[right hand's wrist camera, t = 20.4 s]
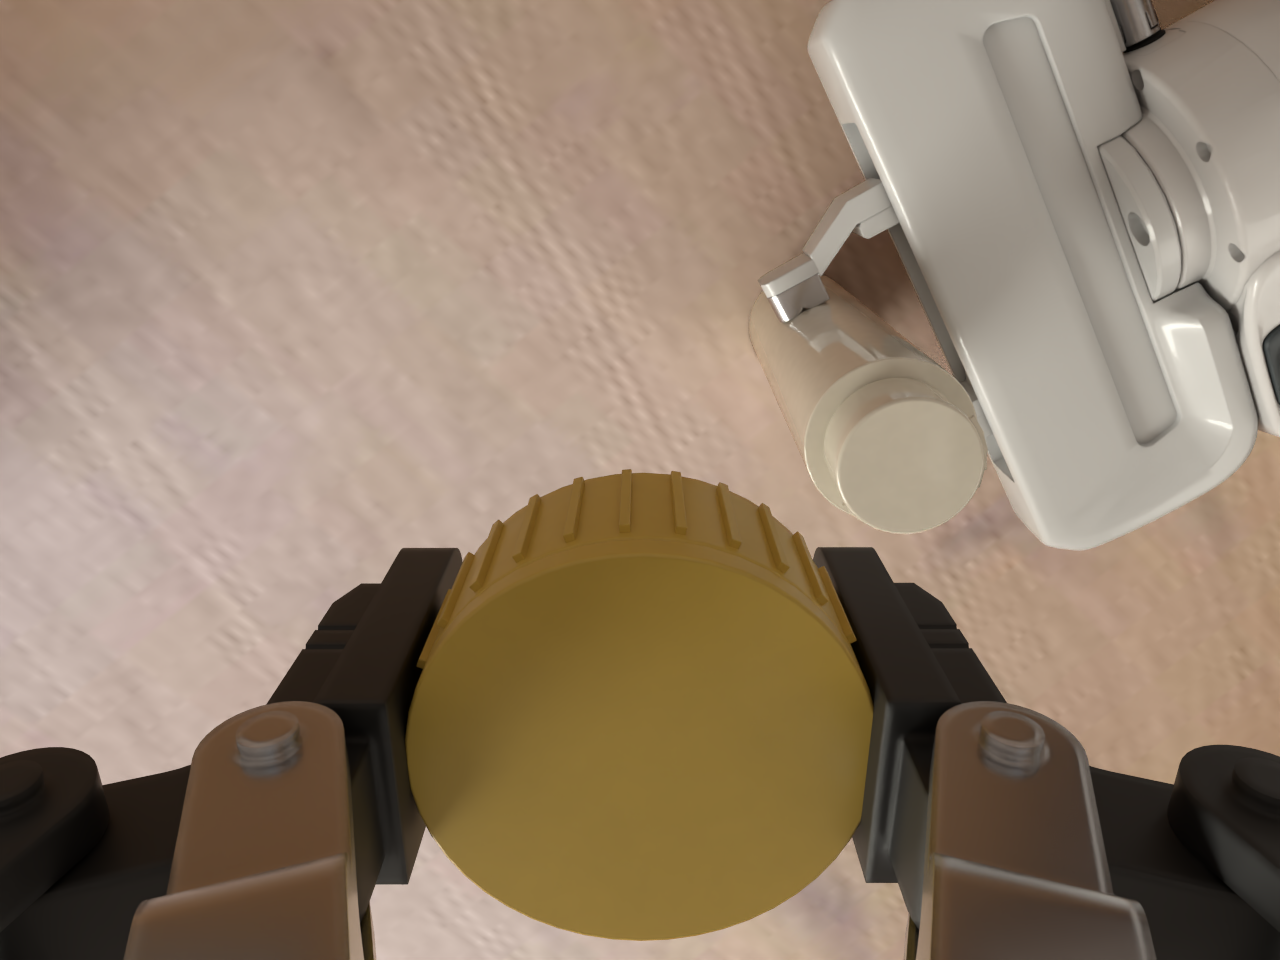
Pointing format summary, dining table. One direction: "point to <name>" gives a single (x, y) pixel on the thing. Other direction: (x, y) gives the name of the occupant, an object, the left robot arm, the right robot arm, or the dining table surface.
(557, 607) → the lid
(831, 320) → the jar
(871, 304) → the dining table surface
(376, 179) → the dining table surface
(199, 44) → the dining table surface
